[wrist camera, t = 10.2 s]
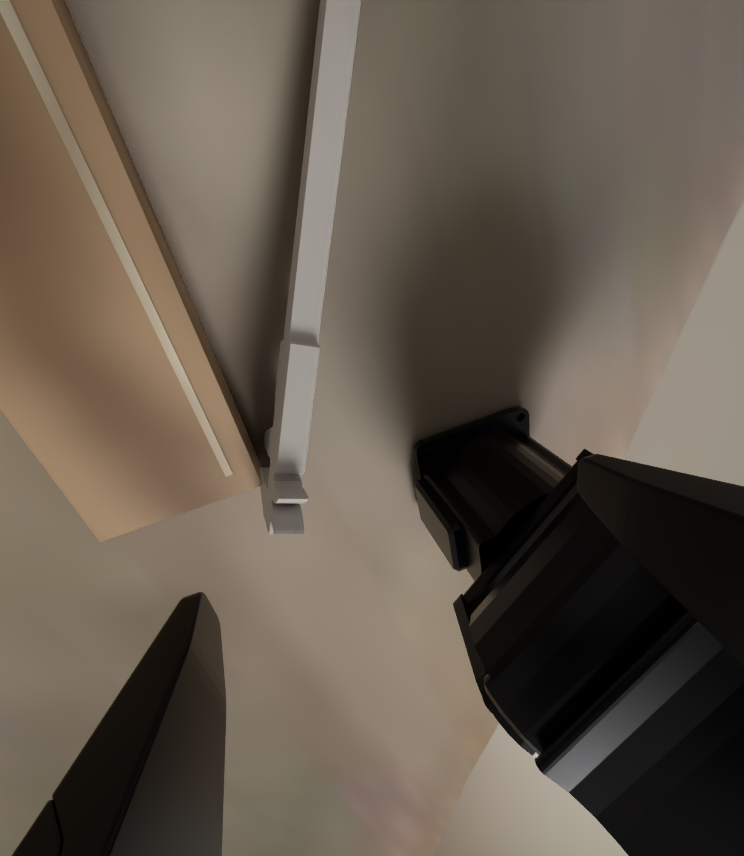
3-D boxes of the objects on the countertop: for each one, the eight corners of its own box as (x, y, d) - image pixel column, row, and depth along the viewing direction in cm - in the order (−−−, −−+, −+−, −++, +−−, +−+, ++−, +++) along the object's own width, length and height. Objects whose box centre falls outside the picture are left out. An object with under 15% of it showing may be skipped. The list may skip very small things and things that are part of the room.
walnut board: (-218, -666, 7) (-376, -976, 5) (259, 461, 19) (262, 486, 17) (-738, -717, 6) (-1160, -1127, 4) (113, 511, 18) (99, 543, 16)
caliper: (281, 473, 20) (300, 566, 14) (258, 472, 19) (269, 567, 14) (368, -120, 12) (479, -398, 7) (333, -140, 12) (421, -453, 6)
